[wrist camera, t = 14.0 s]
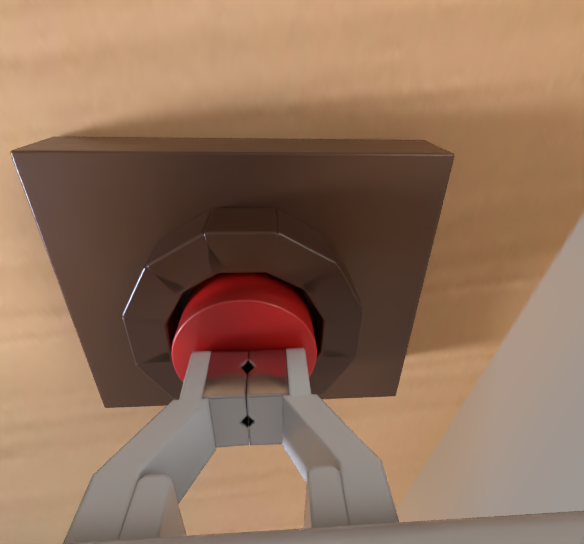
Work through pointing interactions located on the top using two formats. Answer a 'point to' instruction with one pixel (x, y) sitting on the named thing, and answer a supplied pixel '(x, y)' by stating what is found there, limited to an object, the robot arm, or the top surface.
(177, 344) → the button
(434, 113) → the top surface
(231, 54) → the top surface
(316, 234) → the control block
